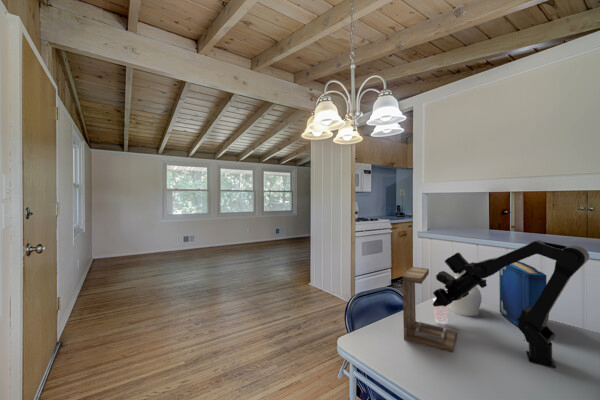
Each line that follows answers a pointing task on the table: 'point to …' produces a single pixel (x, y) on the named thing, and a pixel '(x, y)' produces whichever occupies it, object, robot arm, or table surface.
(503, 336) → the table surface
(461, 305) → the vase
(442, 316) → the beverage cup
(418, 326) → the wooden headphone stand
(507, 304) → the book
